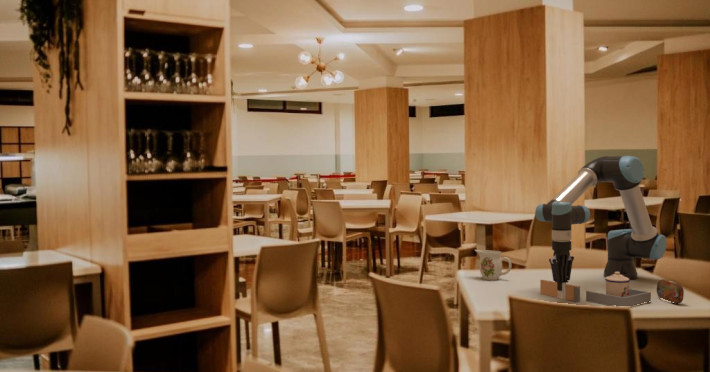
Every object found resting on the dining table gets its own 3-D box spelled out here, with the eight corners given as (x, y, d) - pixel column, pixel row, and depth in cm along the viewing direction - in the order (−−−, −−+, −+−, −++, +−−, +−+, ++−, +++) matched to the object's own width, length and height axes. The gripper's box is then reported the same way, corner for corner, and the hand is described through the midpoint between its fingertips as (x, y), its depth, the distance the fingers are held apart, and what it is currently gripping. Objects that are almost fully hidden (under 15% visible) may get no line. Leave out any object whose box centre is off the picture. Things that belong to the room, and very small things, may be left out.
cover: (540, 293, 272) (540, 279, 272) (542, 293, 272) (541, 279, 272) (578, 301, 256) (578, 286, 256) (580, 301, 257) (580, 286, 257)
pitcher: (508, 282, 298) (508, 253, 297) (471, 279, 306) (471, 251, 306) (514, 278, 307) (514, 250, 307) (478, 275, 316) (478, 248, 315)
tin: (655, 297, 261) (656, 277, 261) (663, 297, 262) (663, 277, 261) (677, 306, 246) (677, 284, 246) (685, 305, 247) (685, 284, 246)
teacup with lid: (626, 304, 247) (626, 274, 247) (602, 301, 253) (602, 272, 252) (634, 298, 257) (634, 270, 256) (611, 296, 262) (611, 268, 262)
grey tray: (608, 294, 269) (608, 280, 269) (650, 302, 253) (650, 287, 253) (573, 301, 256) (573, 287, 256) (615, 310, 240) (615, 294, 240)
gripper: (558, 242, 249) (558, 302, 250) (579, 240, 256) (579, 297, 257) (543, 240, 255) (543, 299, 256) (564, 238, 262) (564, 294, 263)
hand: (561, 298), depth 257 cm, fingers closed
